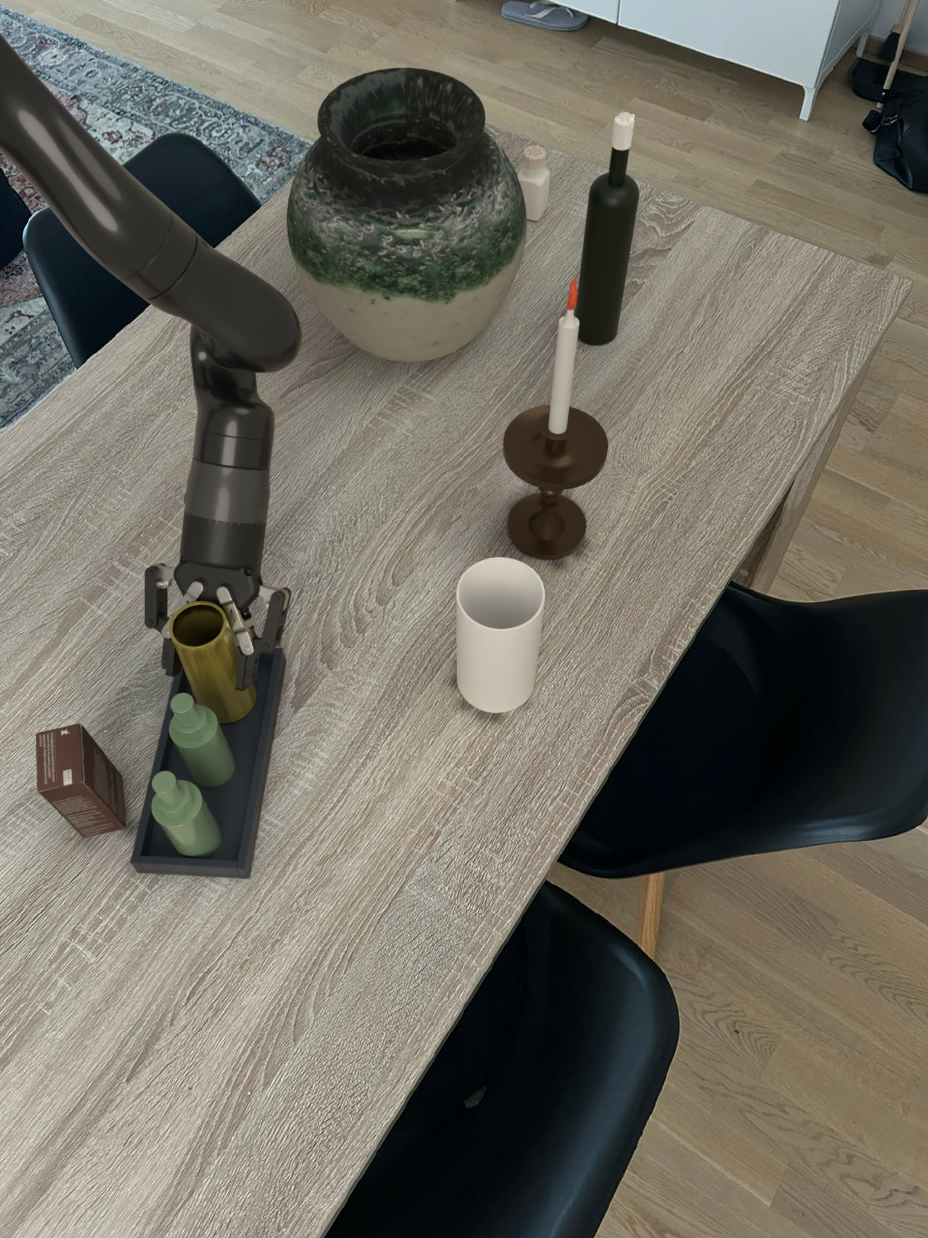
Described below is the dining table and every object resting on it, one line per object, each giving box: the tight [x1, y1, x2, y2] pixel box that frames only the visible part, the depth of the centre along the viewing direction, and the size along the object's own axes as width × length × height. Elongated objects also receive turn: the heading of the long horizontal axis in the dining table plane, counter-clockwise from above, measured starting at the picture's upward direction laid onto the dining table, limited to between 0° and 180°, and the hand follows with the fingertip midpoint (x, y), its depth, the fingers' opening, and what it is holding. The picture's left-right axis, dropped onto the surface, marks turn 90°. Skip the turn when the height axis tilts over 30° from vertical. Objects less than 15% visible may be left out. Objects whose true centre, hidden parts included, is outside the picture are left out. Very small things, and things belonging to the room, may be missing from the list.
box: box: [35, 722, 126, 839], centre depth 96 cm, size 6×4×12 cm
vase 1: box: [169, 601, 257, 723], centre depth 101 cm, size 6×6×14 cm
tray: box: [129, 645, 287, 880], centre depth 103 cm, size 11×24×3 cm, turn 177°
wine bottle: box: [574, 110, 640, 346], centre depth 124 cm, size 6×6×30 cm
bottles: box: [151, 693, 235, 859], centre depth 95 cm, size 4×12×14 cm, turn 177°
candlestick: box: [502, 276, 609, 561], centre depth 105 cm, size 11×11×35 cm
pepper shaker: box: [517, 144, 551, 222], centre depth 146 cm, size 4×4×10 cm
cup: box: [455, 556, 546, 714], centre depth 102 cm, size 8×8×16 cm
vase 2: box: [286, 67, 528, 363], centre depth 124 cm, size 28×28×30 cm
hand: (207, 681), depth 100 cm, fingers open, 6 cm apart
